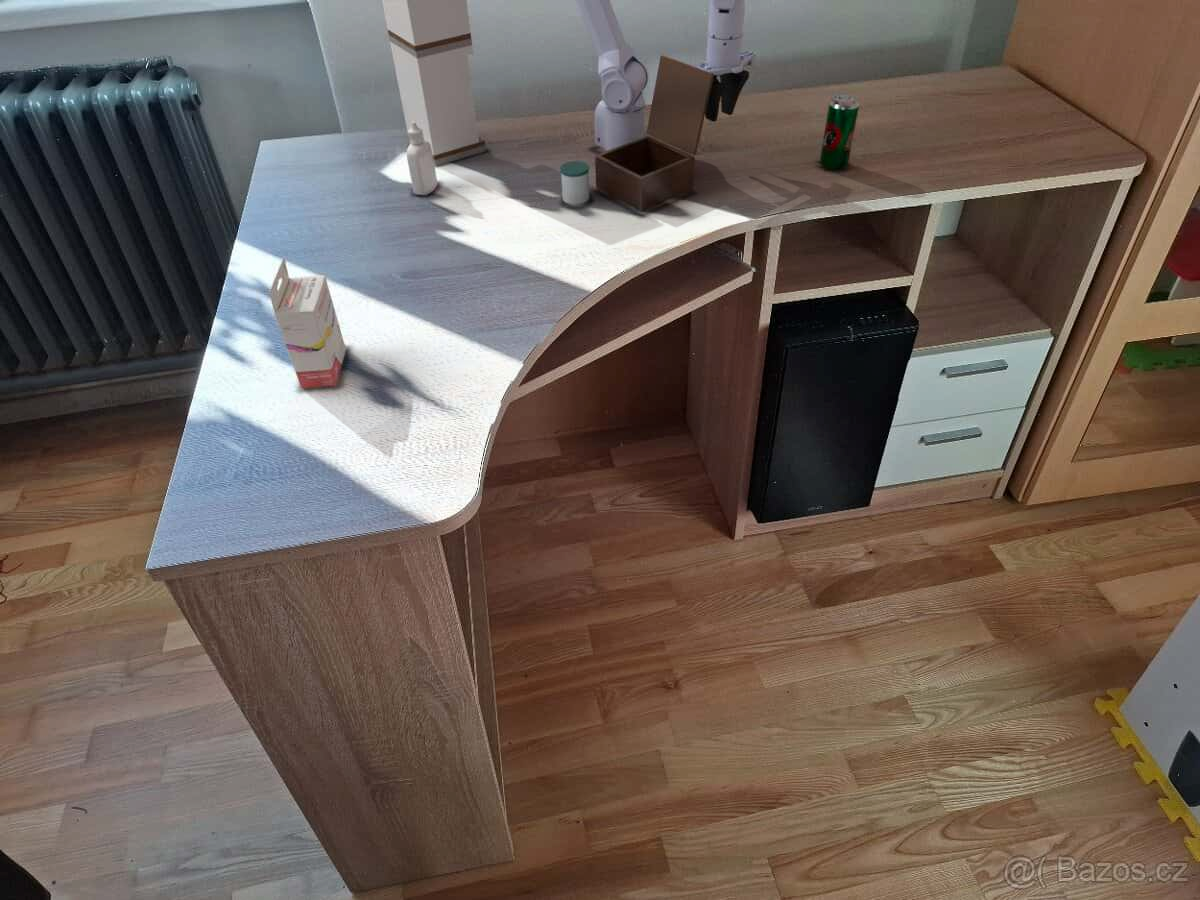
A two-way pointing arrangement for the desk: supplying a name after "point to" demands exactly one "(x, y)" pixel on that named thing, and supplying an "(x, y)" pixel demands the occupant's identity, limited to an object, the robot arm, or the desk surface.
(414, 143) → the eye dropper bottle
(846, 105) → the soda can
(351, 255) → the desk surface
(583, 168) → the container
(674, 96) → the box lid
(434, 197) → the desk surface
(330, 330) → the ink cartridge box
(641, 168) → the box
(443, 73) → the brown banded pillar
